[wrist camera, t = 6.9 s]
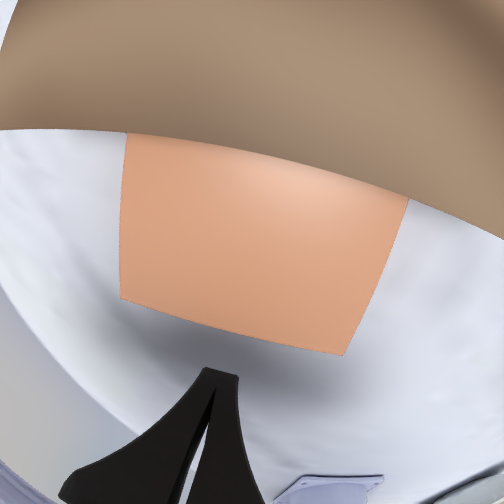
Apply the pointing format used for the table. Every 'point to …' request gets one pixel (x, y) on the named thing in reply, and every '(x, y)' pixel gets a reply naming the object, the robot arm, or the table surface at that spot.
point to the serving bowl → (477, 492)
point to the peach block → (251, 241)
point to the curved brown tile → (281, 85)
